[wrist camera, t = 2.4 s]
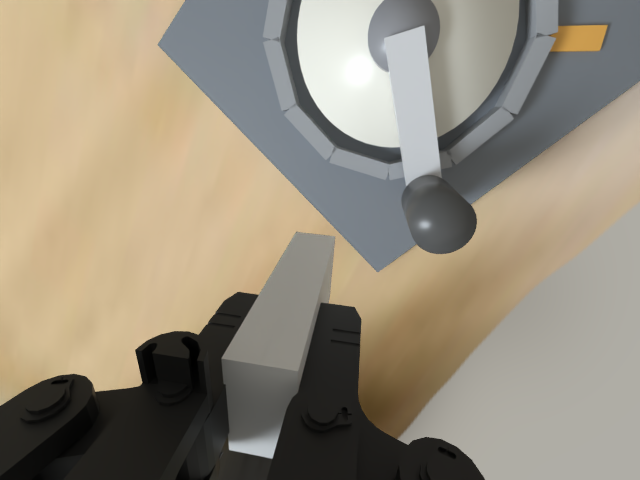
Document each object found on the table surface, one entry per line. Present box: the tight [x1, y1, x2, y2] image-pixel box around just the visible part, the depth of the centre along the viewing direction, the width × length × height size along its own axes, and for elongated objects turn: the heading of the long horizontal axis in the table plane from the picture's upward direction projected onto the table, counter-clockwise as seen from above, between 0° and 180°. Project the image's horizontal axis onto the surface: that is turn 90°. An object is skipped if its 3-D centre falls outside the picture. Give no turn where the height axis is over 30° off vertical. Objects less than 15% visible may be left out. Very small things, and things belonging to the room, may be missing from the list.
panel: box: [158, 0, 640, 272], centre depth 22 cm, size 26×26×2 cm
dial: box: [297, 0, 519, 254], centre depth 19 cm, size 20×14×8 cm
